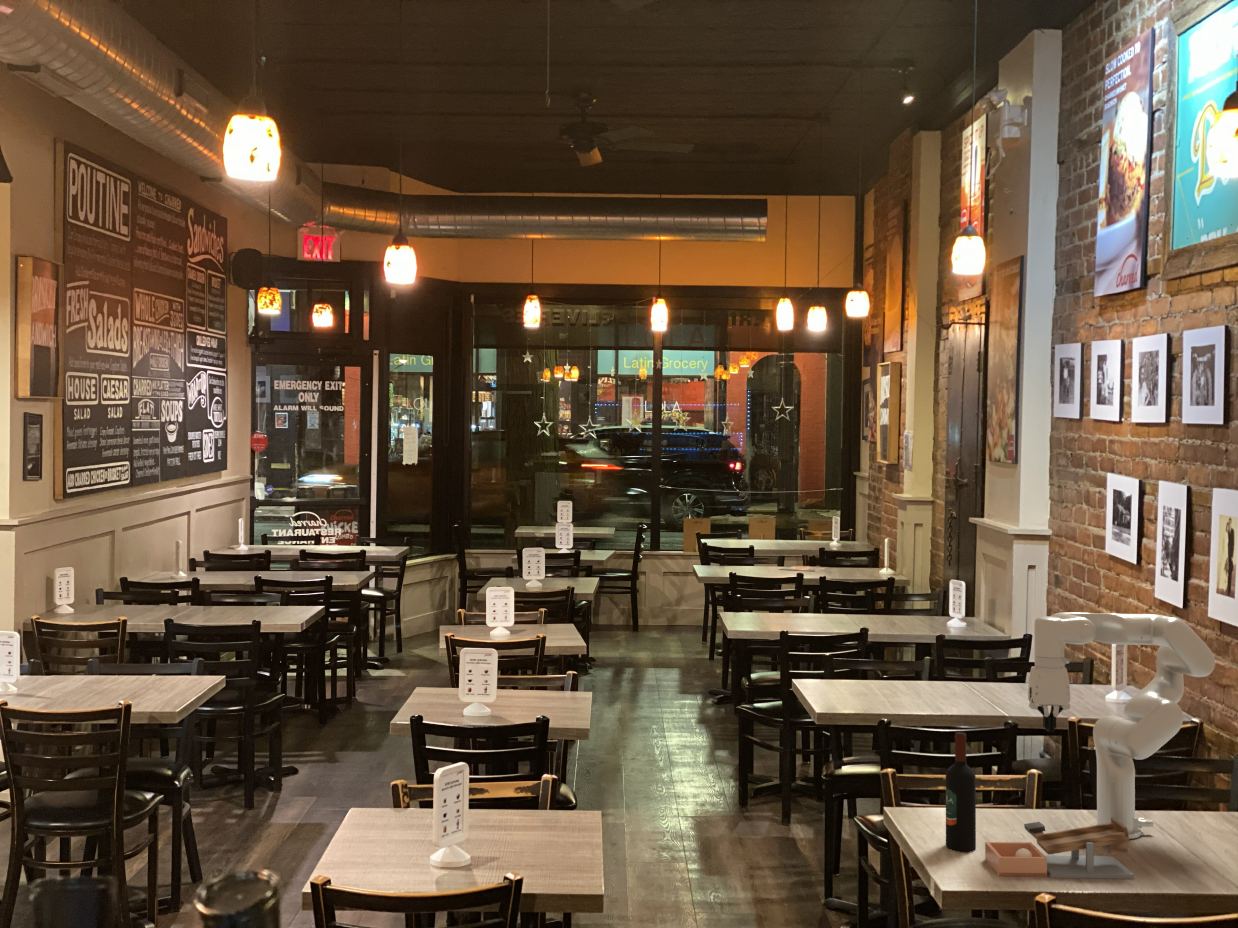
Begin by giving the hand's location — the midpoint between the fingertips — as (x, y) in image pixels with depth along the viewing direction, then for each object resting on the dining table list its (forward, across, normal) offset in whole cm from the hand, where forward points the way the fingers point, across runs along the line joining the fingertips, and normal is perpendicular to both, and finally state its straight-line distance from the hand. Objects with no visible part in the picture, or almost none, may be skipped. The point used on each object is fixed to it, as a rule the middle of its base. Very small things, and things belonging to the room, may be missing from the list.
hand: (1049, 730), depth 301 cm
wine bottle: (+29, +26, +8) cm, 40 cm away
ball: (+26, +14, +23) cm, 38 cm away
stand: (+29, 0, +23) cm, 37 cm away
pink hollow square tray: (+29, +16, +23) cm, 41 cm away
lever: (+26, -1, +19) cm, 32 cm away
